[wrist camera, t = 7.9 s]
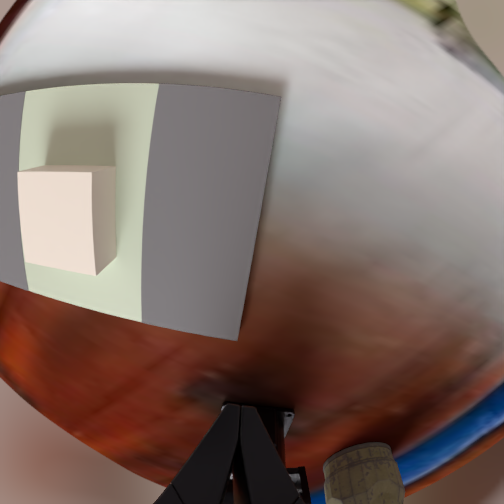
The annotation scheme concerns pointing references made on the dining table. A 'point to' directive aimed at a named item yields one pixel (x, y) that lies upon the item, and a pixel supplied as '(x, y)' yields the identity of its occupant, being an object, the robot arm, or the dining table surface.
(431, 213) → the dining table surface
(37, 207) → the cream block
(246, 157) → the mats
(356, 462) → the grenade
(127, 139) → the board
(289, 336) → the dining table surface
